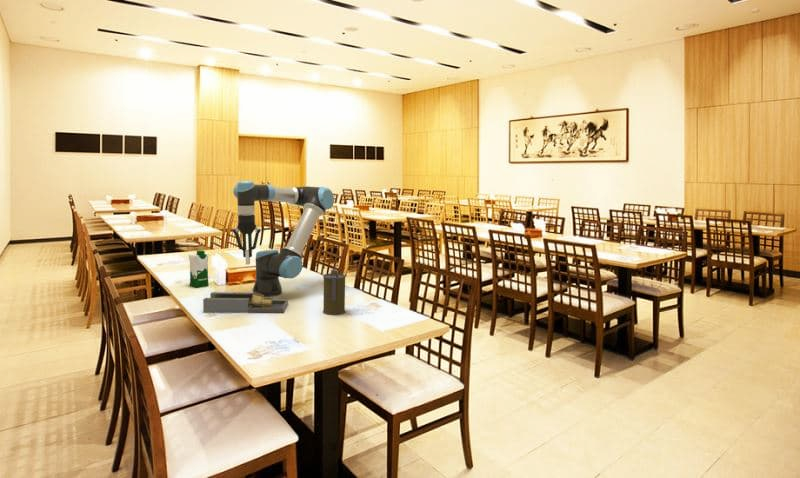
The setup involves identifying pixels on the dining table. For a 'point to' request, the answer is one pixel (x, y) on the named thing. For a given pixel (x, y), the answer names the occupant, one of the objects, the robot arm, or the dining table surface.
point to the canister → (334, 293)
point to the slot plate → (227, 302)
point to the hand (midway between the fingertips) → (247, 263)
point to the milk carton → (198, 269)
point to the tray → (278, 307)
